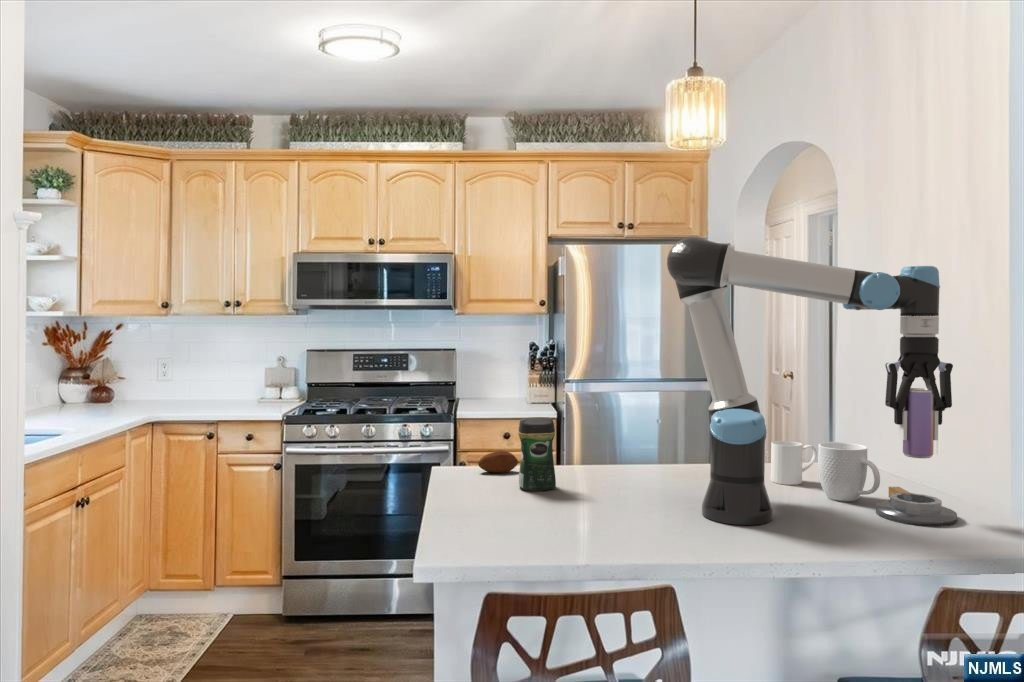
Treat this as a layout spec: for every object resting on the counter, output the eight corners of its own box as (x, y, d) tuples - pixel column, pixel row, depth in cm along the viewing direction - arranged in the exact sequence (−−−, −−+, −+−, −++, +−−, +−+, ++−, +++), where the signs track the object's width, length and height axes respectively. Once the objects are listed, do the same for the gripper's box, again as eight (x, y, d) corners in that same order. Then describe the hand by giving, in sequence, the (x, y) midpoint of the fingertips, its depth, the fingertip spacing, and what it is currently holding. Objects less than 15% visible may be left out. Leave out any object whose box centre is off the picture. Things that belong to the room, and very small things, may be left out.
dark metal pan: (894, 525, 156) (894, 507, 156) (859, 502, 175) (859, 486, 175) (972, 527, 155) (972, 508, 155) (928, 503, 174) (928, 487, 174)
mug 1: (779, 485, 192) (779, 446, 192) (765, 479, 200) (766, 441, 200) (823, 484, 194) (823, 445, 193) (808, 477, 202) (808, 440, 201)
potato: (476, 471, 211) (476, 448, 211) (515, 469, 213) (515, 447, 213) (479, 475, 205) (479, 452, 205) (519, 473, 208) (519, 451, 207)
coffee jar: (552, 483, 195) (552, 414, 194) (558, 491, 187) (558, 419, 186) (516, 485, 194) (516, 415, 193) (520, 492, 186) (520, 420, 185)
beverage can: (920, 459, 159) (921, 391, 159) (896, 454, 165) (897, 388, 164) (939, 457, 162) (940, 389, 161) (915, 452, 167) (915, 387, 166)
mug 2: (891, 503, 175) (892, 449, 174) (865, 510, 169) (866, 454, 168) (834, 490, 187) (835, 440, 187) (808, 496, 181) (808, 444, 180)
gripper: (882, 336, 159) (881, 441, 160) (972, 336, 158) (971, 442, 159) (868, 335, 167) (867, 436, 167) (954, 335, 165) (953, 436, 166)
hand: (917, 439), depth 163 cm, fingers closed on beverage can, 6 cm apart
